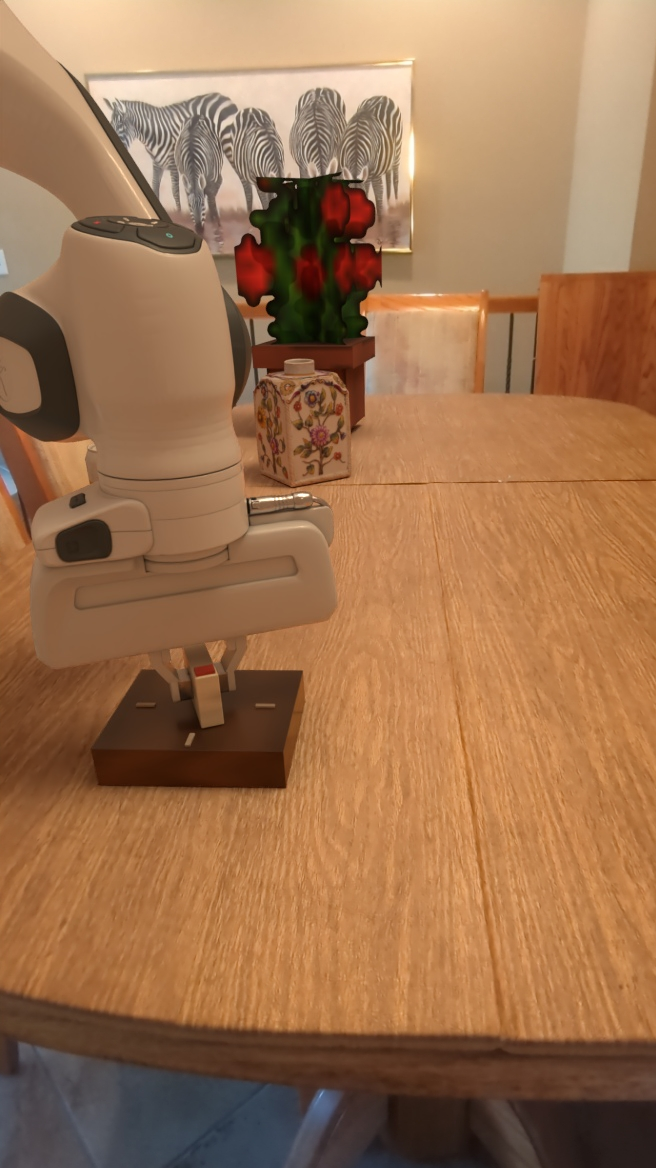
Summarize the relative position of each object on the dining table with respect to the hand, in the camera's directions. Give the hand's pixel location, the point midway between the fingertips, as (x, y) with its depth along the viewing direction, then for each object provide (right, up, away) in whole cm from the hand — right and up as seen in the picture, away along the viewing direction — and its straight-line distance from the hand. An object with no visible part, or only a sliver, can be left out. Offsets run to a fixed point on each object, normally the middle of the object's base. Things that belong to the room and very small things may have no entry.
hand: (203, 693), depth 54 cm
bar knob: (0, -1, +1) cm, 1 cm away
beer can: (-14, +11, +31) cm, 36 cm away
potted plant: (+3, +47, +102) cm, 112 cm away
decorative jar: (+2, +31, +71) cm, 77 cm away
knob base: (0, -4, +2) cm, 4 cm away
